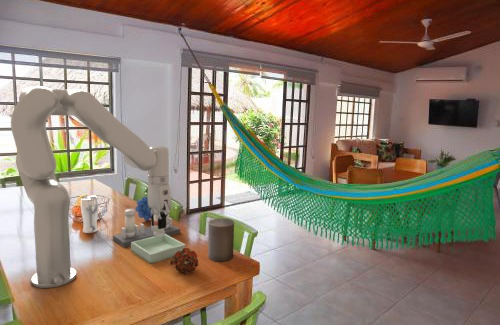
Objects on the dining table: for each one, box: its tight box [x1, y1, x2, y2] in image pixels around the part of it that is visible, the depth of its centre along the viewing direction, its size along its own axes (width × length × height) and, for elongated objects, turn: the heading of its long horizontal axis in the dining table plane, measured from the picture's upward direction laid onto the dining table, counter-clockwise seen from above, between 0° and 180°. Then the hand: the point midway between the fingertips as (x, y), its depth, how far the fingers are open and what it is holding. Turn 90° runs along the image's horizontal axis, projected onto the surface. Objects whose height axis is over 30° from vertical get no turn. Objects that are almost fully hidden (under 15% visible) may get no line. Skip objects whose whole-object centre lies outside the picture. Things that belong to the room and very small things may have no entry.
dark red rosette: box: [169, 247, 199, 274], centre depth 125 cm, size 8×8×12 cm
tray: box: [130, 234, 186, 265], centre depth 139 cm, size 15×15×4 cm
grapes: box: [135, 196, 152, 221], centre depth 174 cm, size 12×7×12 cm, turn 130°
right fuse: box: [164, 214, 170, 230], centre depth 159 cm, size 4×4×11 cm
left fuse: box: [124, 208, 136, 238], centre depth 148 cm, size 4×4×11 cm
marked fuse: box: [153, 208, 165, 238], centre depth 138 cm, size 4×4×11 cm
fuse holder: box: [112, 216, 181, 248], centre depth 155 cm, size 10×26×6 cm, turn 134°
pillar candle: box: [207, 217, 235, 263], centre depth 137 cm, size 10×10×15 cm
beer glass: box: [80, 195, 99, 234], centre depth 157 cm, size 7×7×15 cm
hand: (158, 226), depth 138 cm, fingers closed on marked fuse, 3 cm apart
